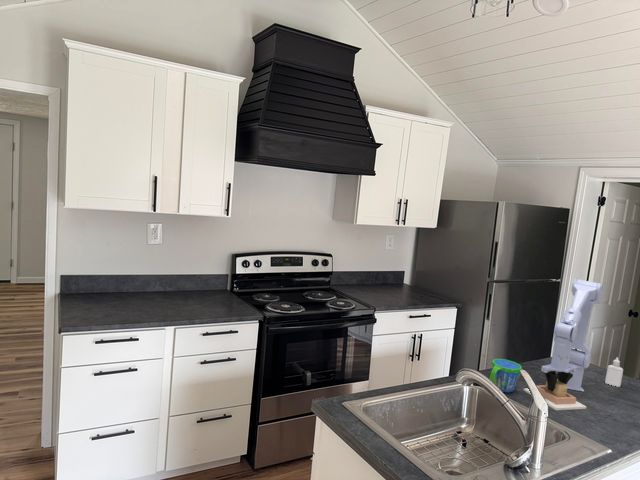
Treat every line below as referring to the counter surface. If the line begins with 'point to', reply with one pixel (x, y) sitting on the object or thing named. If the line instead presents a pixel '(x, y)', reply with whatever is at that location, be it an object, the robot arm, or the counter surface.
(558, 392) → the oak key block
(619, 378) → the eye dropper bottle
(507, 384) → the snack cup
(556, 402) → the tray
